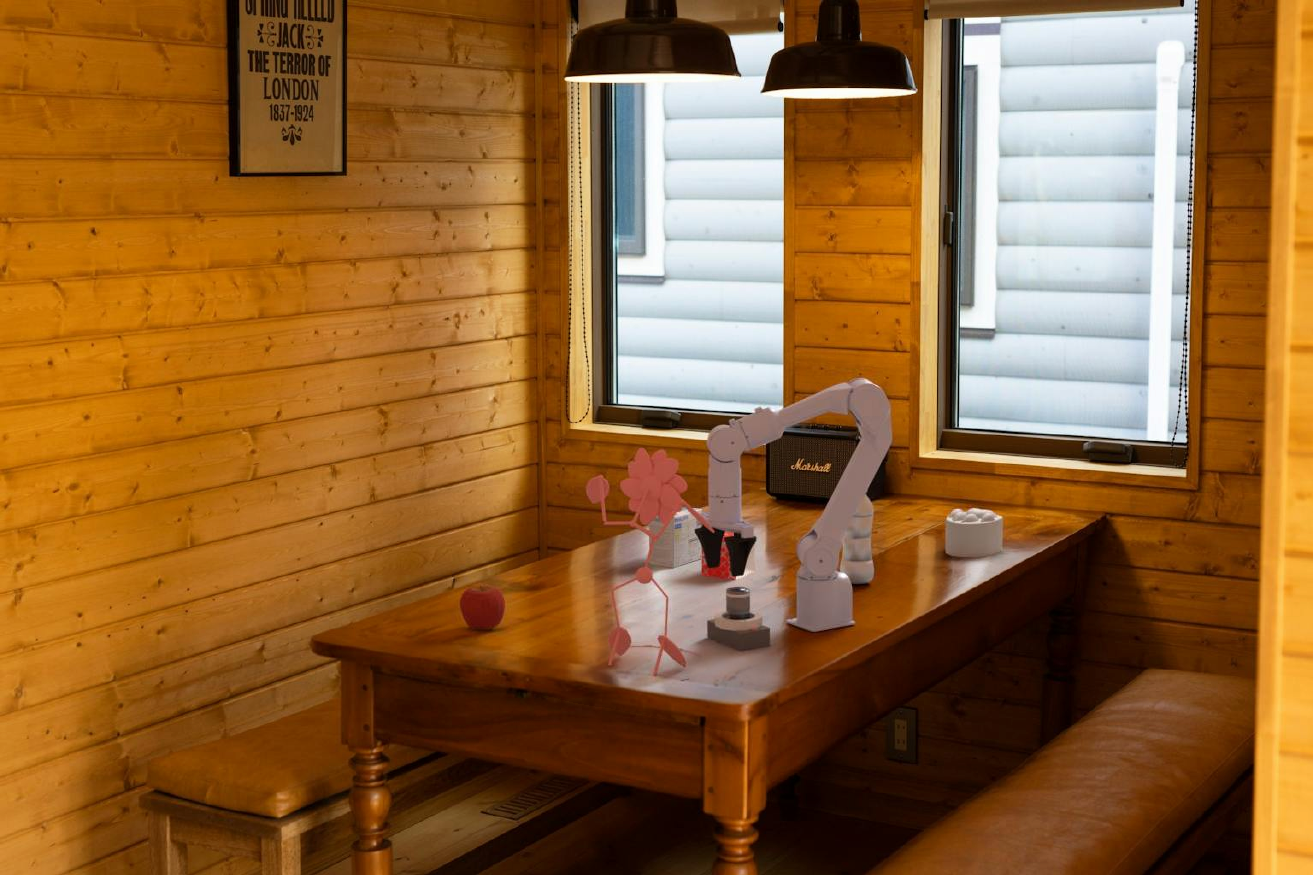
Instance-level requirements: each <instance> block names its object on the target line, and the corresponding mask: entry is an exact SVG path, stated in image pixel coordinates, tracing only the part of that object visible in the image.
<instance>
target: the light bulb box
mask: <svg viewBox="0 0 1313 875" xmlns="http://www.w3.org/2000/svg"><path fill="white" fill-rule="evenodd" d="M692 508H693V509H694V510H695V511H697V512H698V513H699V514H700V513H703V511H702V510H703V509H702V508H695V507H692ZM663 526H664V524H663V523H662V522H660V520H659V517H658V515H657V516H656V518H655V519H654V520H653V521H652V522H651V523H649V524H648V530H649V531H651V532H652V533H654V534H656V535H657V534H658V533H659V531H660V530H661V528H662V527H663ZM701 526H702V525H699V524H698V520H697V519H696V518H695V517H694V516H693V515H692V514H691V513H690V512H689V511H688V510H687V509H686V508H685V507H684V506H683V507H682V510H681V511H680V512H677V513H676V514H675V516H674V517H673V519H672V520H671V522H670V523H669V524H668V526H667V527H666V529H665V530H664V532H663V533H662V535H661V536H660V537H659V539H656V538H655V541H654V545H653V548H652V552H651V555H650V559H649V562H648V565H652V566H656V567H657V566H658V567H664V568H670V569H671V568H672V569H674V568H677V567H680V566H682V565H683V566H684V565H687V564H690V563H692V562H695V561H698V560H701V543H700V541H699V539H698V537H697V535H696V534H695V529H696V528H701ZM651 539H652V538H651V537H650V536H648V547H649V548H650V543H651ZM649 548H648V549H649Z"/></svg>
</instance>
